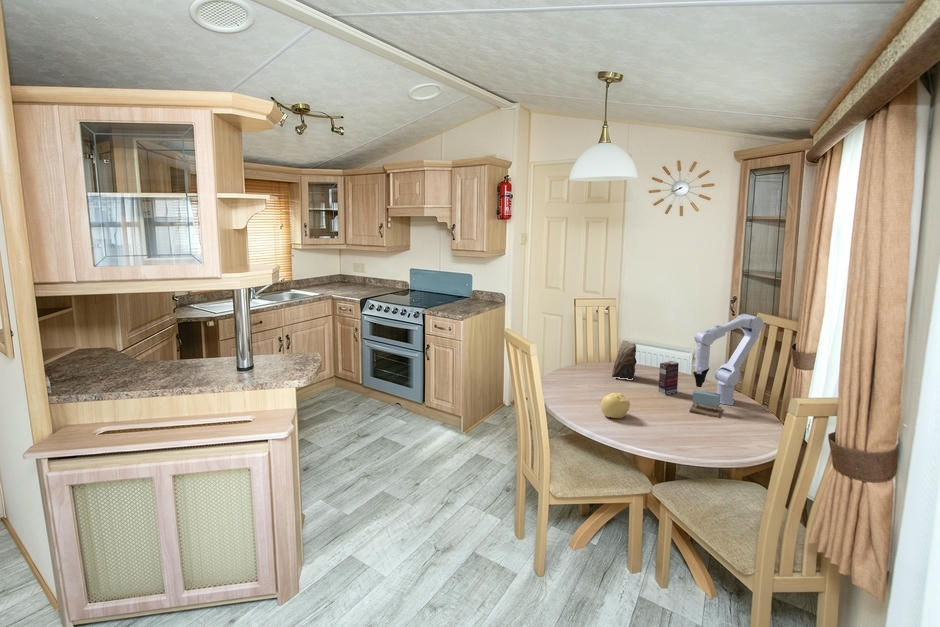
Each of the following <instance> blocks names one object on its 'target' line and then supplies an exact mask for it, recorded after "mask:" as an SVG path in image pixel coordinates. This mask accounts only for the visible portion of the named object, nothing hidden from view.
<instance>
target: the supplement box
mask: <svg viewBox="0 0 940 627" xmlns="http://www.w3.org/2000/svg"><path fill="white" fill-rule="evenodd" d="M679 364H680V363H679V362H677V361H674V360H670V361H664V362H660V363H659V376H658V377H659V378H658V392H661V393H663V394H665V395H664V396H667V395H666V394H669V395H672V394H671V393H673V394H676V393H675V392H677V393H678V385H679V384H678V383H679V369H680V368H679ZM663 394H662V395H663Z"/></svg>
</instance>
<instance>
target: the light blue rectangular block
mask: <svg viewBox="0 0 940 627" xmlns="http://www.w3.org/2000/svg"><path fill="white" fill-rule="evenodd" d="M720 396H721V394H717V392H710V391H704V390H700V389H699V390H697V389H694V390H693V392H692V402H691V403H692V404H693V403H698V404H703V405H709V406H715V407H720V404H721V403H720Z"/></svg>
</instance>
